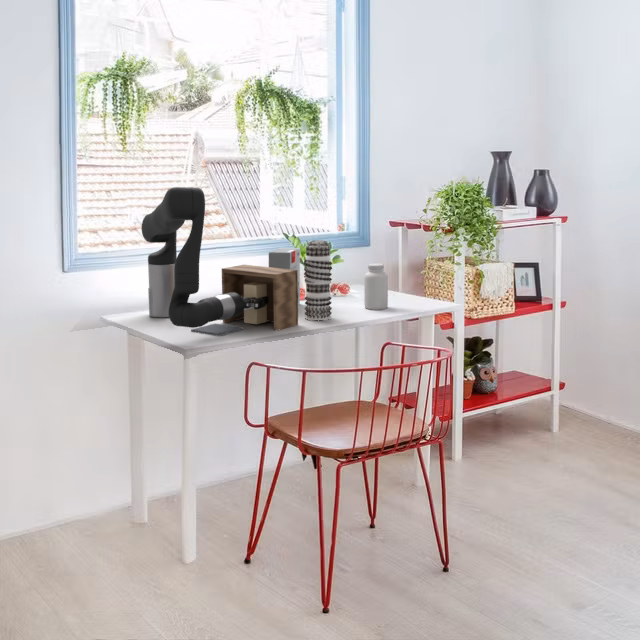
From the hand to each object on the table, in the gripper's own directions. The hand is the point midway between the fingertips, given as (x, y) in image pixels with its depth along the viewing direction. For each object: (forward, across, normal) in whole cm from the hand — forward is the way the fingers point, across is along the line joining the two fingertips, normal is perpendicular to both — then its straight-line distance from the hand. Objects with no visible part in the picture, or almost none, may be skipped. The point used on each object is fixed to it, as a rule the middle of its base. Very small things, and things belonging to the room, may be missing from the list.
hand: (260, 298), depth 300 cm
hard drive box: (+26, +10, +8) cm, 29 cm away
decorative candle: (+17, -10, +8) cm, 21 cm away
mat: (-16, +4, +8) cm, 18 cm away
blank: (-3, 0, +7) cm, 7 cm away
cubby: (-1, 0, +8) cm, 8 cm away
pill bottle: (+43, -16, +8) cm, 46 cm away
